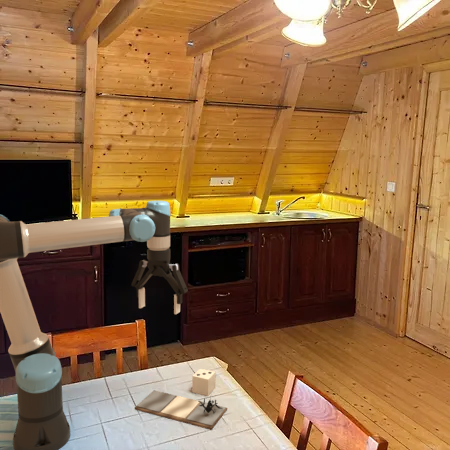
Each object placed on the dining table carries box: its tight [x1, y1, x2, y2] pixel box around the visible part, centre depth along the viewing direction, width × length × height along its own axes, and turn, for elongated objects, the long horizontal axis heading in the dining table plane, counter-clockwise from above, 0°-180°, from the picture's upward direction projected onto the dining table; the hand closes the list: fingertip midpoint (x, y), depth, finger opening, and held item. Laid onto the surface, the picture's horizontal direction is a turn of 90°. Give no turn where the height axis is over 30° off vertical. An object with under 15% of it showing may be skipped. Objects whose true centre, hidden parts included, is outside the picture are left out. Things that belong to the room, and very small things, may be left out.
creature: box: [197, 397, 223, 413], centre depth 148 cm, size 8×5×8 cm
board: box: [134, 389, 228, 430], centre depth 150 cm, size 27×12×1 cm, turn 67°
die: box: [191, 368, 217, 397], centre depth 162 cm, size 6×6×6 cm
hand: (159, 310), depth 158 cm, fingers open, 13 cm apart
